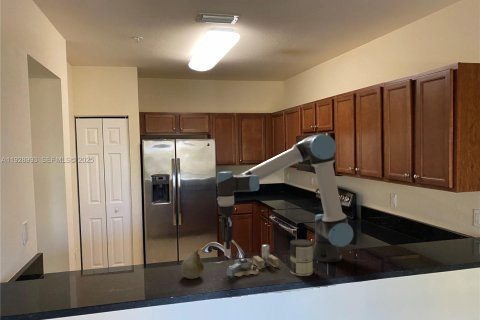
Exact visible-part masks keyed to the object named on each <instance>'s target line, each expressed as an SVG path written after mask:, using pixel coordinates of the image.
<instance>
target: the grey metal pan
mask: <svg viewBox="0 0 480 320" xmlns="http://www.w3.org/2000/svg"><path fill="white" fill-rule="evenodd" d="M230 266H231V267H229V268H228V267H227V268H226V276H230V277H232V276H233V275H234V274H236V273H237V272H239V271H241V270H250V269H251V268H252V266H253V260H251V259H249V258H245V257H244V258H243V257H242V258H237V259H235V260H234V264H233V266H232V265H230ZM234 276H235V275H234Z"/></svg>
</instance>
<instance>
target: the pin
mask: <svg viewBox="0 0 480 320" xmlns="http://www.w3.org/2000/svg"><path fill="white" fill-rule="evenodd" d="M269 255H270V245H269V244H261V259H263V260H264V266H268V265H269ZM269 266H270V265H269Z"/></svg>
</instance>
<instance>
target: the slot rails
mask: <svg viewBox="0 0 480 320" xmlns="http://www.w3.org/2000/svg"><path fill="white" fill-rule="evenodd" d="M253 264H255V265H256V266H257V267H258V268H259V269H260V270H262V269H261V268H264V269H265V267H264V260H263V259H262V257H260V256H259V255H253V256H252V265H253ZM269 264H271V265H272V266H273V267H276V268H279V258H278V257H276V256H274V255H273V254H269ZM271 265H270V266H271ZM272 266H271V267H272ZM257 267H256V268H257ZM273 267H272V268H273ZM258 268H257V269H258ZM259 269H258V270H259Z"/></svg>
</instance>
